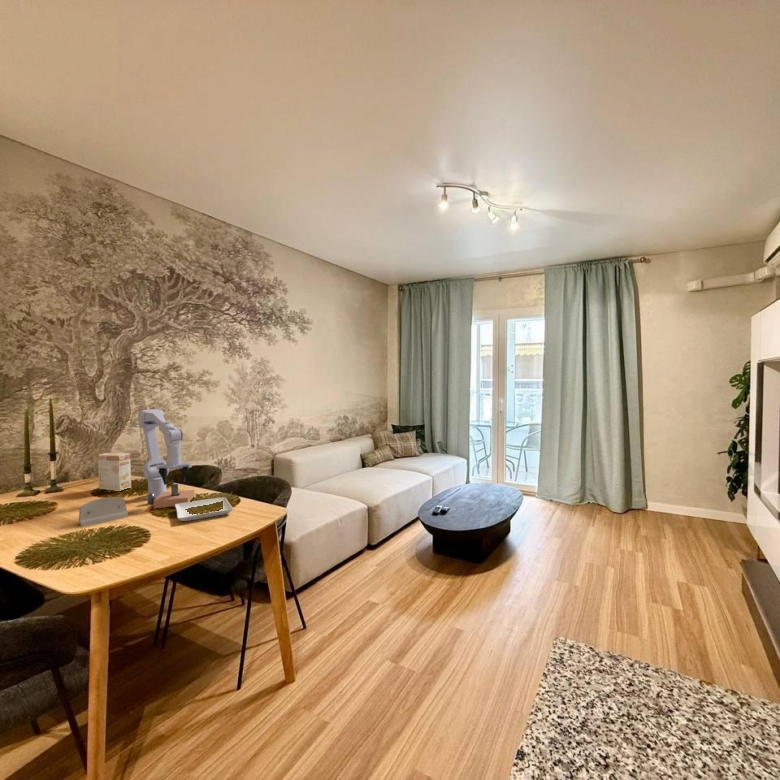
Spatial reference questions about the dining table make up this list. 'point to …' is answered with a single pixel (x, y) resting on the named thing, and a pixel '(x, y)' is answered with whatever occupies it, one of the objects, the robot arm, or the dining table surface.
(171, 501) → the hole block
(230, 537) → the dining table surface
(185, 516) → the salad plate
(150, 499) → the short pin
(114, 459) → the coffeecake box
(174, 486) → the tall pin
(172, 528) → the dining table surface
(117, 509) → the grey bracket
